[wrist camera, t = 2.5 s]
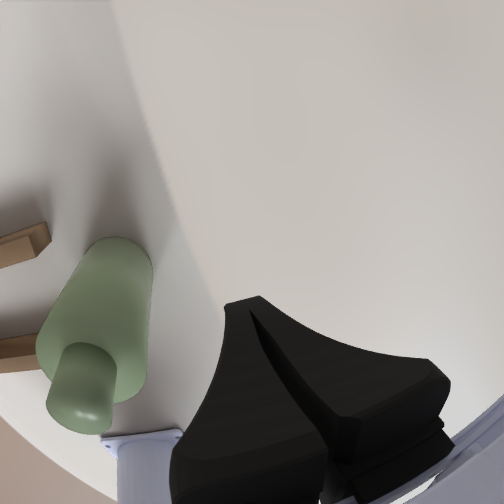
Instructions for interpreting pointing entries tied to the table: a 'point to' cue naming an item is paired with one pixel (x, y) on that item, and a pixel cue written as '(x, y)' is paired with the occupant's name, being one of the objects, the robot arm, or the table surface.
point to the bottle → (98, 336)
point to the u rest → (8, 253)
